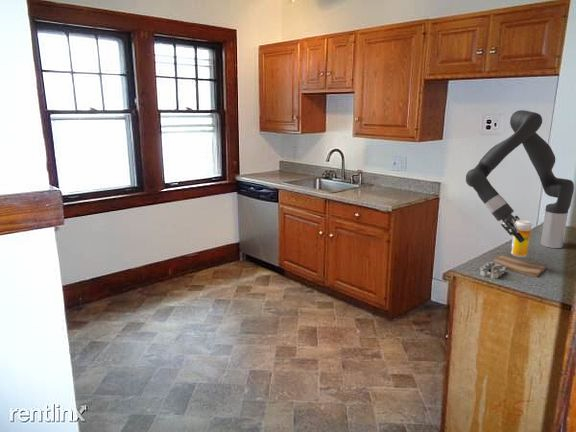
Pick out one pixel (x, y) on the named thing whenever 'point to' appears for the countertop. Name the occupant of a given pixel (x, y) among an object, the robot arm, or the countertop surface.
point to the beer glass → (524, 230)
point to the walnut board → (520, 266)
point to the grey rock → (492, 270)
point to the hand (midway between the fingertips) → (525, 239)
